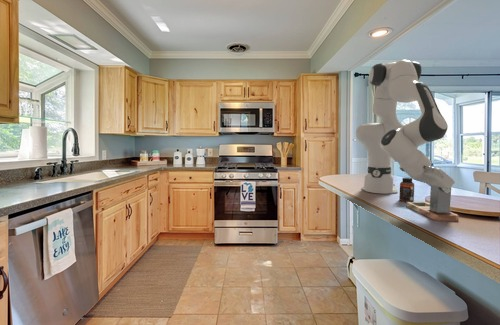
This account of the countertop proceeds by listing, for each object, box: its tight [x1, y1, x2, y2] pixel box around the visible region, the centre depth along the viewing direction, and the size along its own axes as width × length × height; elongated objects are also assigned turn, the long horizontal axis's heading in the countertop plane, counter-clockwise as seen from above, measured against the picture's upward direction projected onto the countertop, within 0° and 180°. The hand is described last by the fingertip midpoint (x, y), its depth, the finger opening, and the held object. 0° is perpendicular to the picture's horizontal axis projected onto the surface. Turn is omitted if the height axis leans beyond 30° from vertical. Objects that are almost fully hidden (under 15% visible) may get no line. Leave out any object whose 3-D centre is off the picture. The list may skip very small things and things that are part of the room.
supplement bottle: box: [398, 177, 415, 203], centre depth 121 cm, size 6×6×11 cm
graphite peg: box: [429, 185, 452, 215], centre depth 96 cm, size 4×4×13 cm
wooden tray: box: [406, 201, 460, 222], centre depth 102 cm, size 19×8×2 cm, turn 176°
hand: (442, 190), depth 96 cm, fingers closed on graphite peg, 4 cm apart
